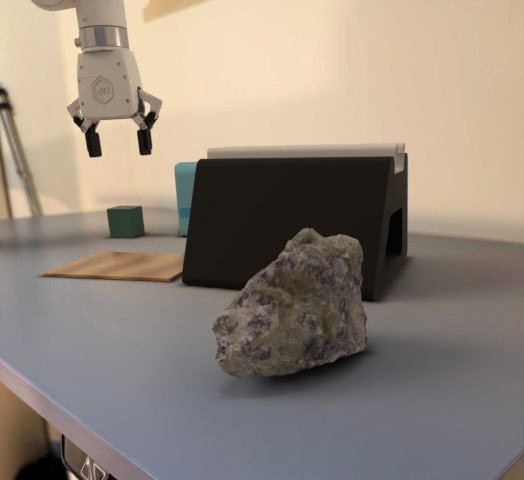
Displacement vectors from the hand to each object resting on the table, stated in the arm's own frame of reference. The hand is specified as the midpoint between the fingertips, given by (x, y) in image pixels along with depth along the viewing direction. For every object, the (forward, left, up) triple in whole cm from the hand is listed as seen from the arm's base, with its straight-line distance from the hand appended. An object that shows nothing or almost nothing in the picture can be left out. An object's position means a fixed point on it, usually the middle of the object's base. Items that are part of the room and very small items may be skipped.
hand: (120, 156), depth 93 cm
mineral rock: (+42, -51, -14) cm, 67 cm away
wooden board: (+13, -23, -14) cm, 30 cm away
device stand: (+37, -22, -14) cm, 45 cm away
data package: (+11, +5, -14) cm, 18 cm away
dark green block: (0, 0, -14) cm, 14 cm away
